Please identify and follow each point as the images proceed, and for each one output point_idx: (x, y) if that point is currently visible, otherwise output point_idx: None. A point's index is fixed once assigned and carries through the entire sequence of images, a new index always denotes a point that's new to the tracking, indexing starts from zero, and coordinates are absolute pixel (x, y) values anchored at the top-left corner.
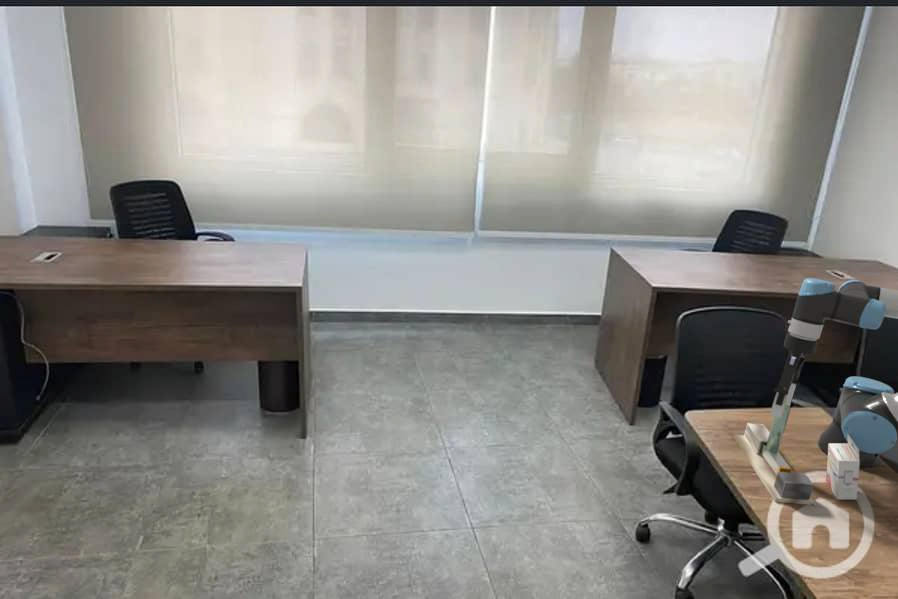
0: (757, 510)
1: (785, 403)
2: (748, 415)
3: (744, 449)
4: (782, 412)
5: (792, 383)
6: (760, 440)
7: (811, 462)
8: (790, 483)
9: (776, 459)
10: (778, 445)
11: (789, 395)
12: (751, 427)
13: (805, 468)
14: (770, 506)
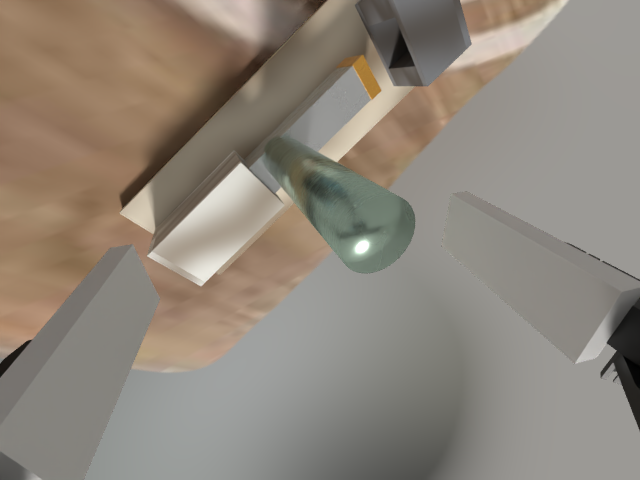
0: (481, 86)
1: (539, 237)
2: (12, 323)
3: (274, 220)
4: (493, 205)
5: (9, 471)
6: (282, 205)
7: (92, 15)
8: (466, 28)
9: (337, 121)
10: (302, 143)
11: (105, 320)
12: (221, 263)
13: (175, 28)
14: (455, 65)
